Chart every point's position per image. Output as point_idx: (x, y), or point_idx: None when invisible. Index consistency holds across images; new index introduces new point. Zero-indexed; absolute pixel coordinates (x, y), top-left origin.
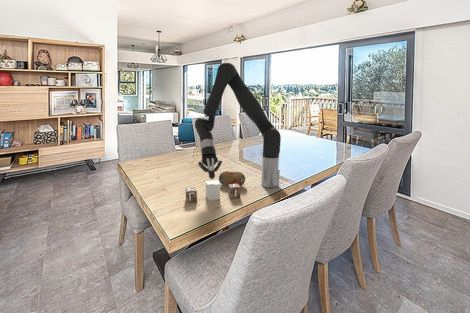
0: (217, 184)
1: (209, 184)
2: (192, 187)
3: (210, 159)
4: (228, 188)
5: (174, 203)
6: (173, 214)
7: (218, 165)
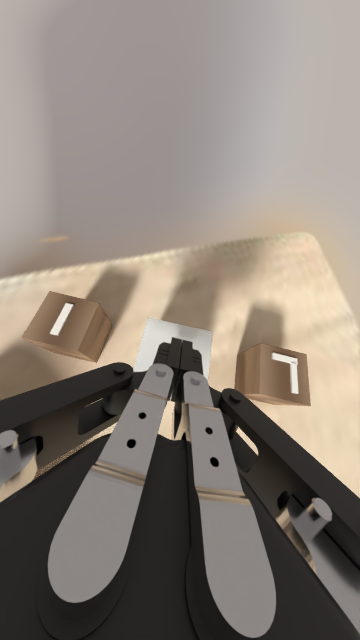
0: (160, 320)
1: (201, 338)
2: (274, 397)
3: (136, 608)
4: (86, 354)
5: (314, 382)
6: (313, 307)
7: (68, 388)
